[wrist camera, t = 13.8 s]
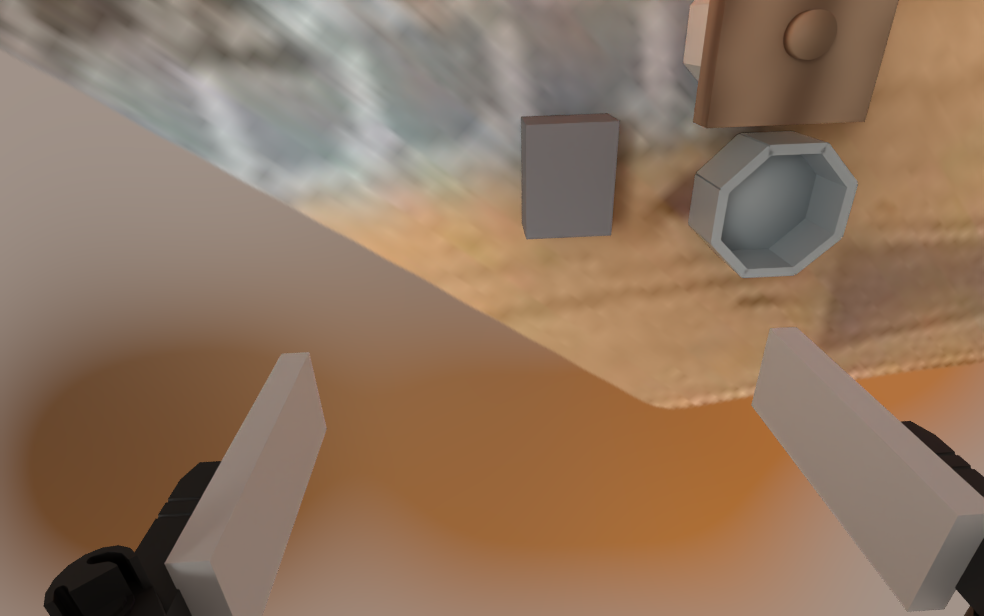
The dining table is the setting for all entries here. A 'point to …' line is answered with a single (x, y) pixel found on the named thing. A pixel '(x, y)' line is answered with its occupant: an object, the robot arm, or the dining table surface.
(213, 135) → the dining table surface
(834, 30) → the lid
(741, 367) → the dining table surface
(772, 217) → the grey bowl
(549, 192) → the grey rectangular block
